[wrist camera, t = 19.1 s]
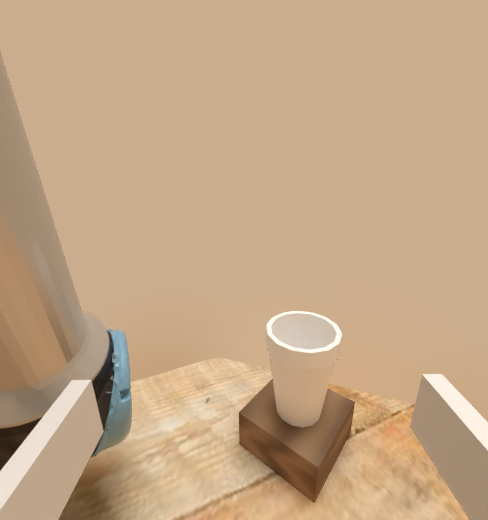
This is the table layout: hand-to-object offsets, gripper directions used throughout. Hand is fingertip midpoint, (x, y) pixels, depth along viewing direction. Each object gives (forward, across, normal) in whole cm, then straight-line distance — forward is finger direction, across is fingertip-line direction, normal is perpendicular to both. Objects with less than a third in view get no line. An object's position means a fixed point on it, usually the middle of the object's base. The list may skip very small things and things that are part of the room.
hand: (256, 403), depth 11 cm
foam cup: (+22, +7, -24) cm, 34 cm away
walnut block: (+22, +7, -30) cm, 38 cm away
